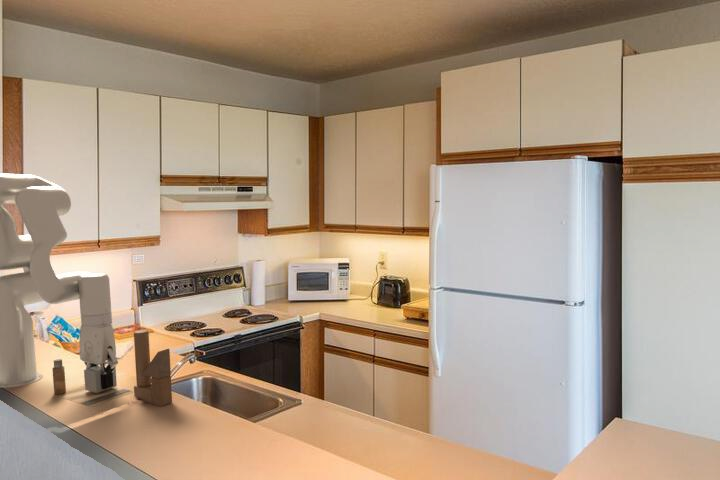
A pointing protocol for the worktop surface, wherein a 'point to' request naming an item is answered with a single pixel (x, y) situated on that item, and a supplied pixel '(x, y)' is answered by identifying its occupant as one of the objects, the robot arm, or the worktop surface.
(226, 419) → the worktop surface
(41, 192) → the robot arm
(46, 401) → the worktop surface
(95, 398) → the panel
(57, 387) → the grey-capped wooden cylinder
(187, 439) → the worktop surface
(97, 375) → the block
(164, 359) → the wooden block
